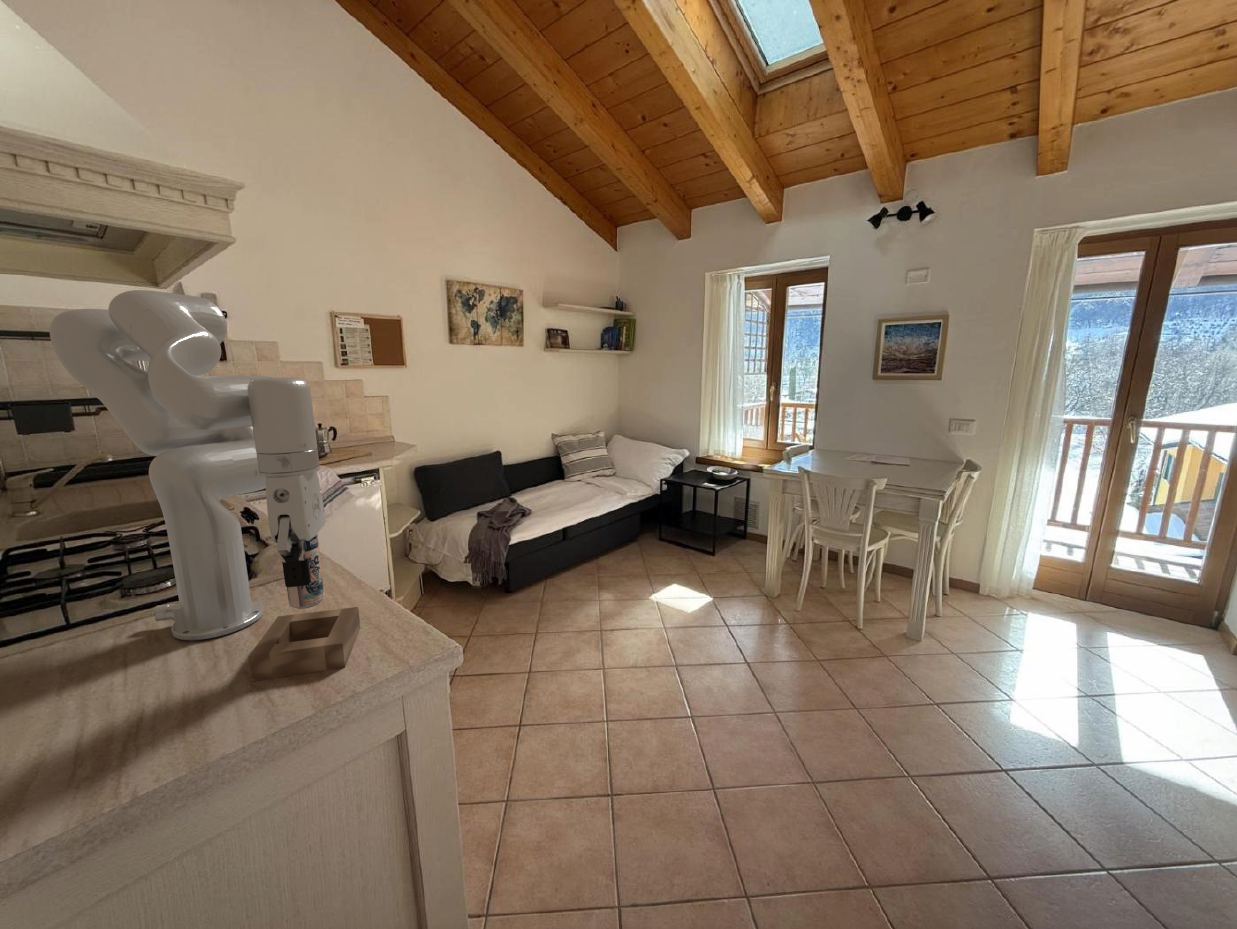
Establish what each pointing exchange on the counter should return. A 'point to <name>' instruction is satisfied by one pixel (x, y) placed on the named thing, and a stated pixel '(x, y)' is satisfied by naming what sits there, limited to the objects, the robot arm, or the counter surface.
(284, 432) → the robot arm
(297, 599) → the beer can
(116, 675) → the counter surface
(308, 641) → the walnut socket block
